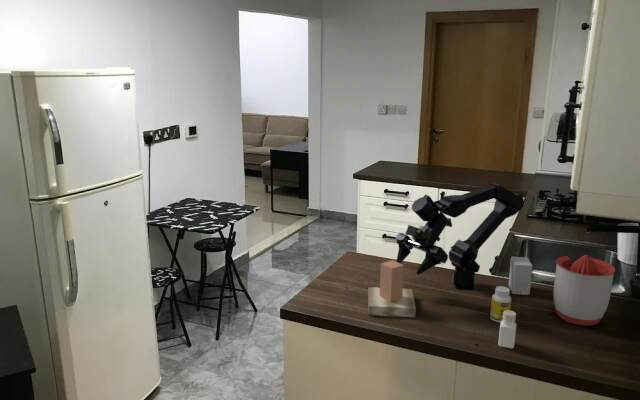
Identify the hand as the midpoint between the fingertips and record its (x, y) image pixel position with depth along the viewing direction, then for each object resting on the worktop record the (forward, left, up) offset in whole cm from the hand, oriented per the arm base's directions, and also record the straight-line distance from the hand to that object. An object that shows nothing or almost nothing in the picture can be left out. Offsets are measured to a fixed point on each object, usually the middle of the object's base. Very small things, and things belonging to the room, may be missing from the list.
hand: (406, 269), depth 163 cm
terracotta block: (+5, +4, -8) cm, 10 cm away
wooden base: (+5, +4, -11) cm, 13 cm away
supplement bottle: (-27, +10, -11) cm, 31 cm away
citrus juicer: (-51, +6, -11) cm, 53 cm away
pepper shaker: (-25, +25, -11) cm, 37 cm away
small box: (-39, -12, -11) cm, 42 cm away
